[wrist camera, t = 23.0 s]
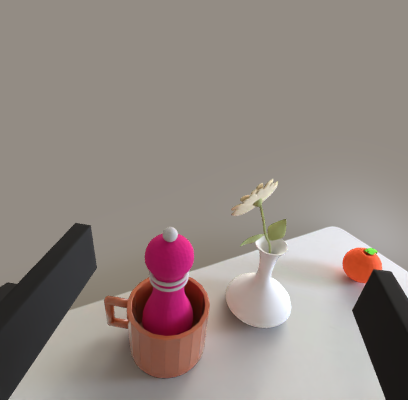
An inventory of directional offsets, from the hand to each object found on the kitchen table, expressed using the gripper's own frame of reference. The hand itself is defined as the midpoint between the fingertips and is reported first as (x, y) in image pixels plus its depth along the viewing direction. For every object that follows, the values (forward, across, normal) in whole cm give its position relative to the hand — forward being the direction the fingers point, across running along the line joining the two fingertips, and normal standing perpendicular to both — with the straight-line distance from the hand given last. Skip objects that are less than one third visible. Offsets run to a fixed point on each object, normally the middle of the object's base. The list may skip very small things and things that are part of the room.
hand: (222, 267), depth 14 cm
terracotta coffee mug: (+16, -8, -31) cm, 36 cm away
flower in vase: (+25, +7, -31) cm, 41 cm away
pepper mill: (+16, -6, -30) cm, 35 cm away
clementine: (+37, +29, -31) cm, 56 cm away
